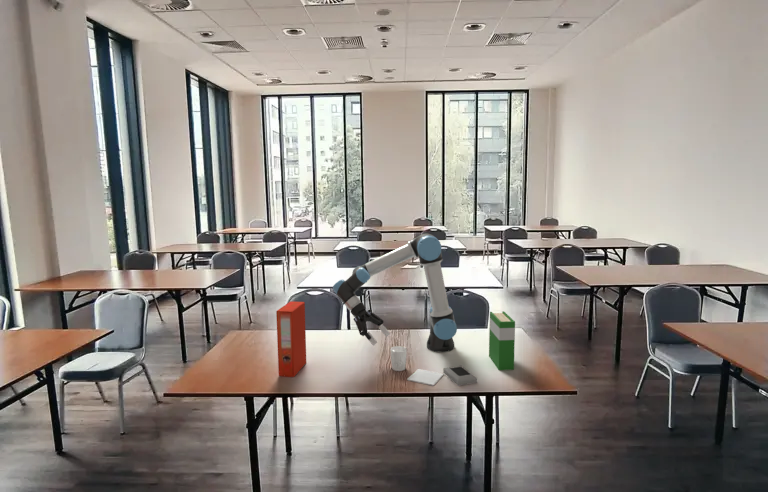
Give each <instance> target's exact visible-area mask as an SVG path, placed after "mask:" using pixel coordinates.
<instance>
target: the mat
mask: <svg viewBox="0 0 768 492" xmlns="http://www.w3.org/2000/svg"><path fill="white" fill-rule="evenodd" d="M444 375H445V374H444V373H443V372H442V373H441V372H437V371H432V370H426V369H421V368H417V369H416V370H415V372H414V373H412V374H411V375H410V376H409V377H407V379H406V381H409V382H413V383H419V384H423V385H427V386H428V385H429V386H433V387H434V386H435V385H436V384H437V382H438V381H440V380H441V379H442V377H443V376H444Z"/></svg>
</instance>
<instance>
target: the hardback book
mask: <svg viewBox="0 0 768 492" xmlns="http://www.w3.org/2000/svg"><path fill="white" fill-rule="evenodd" d="M515 336H516V321H515V320H514V319H513V318H511V316H510V315H509V314H508V313H506V312H505V311H501V312H498V313H497V312H495V313H494V312H492V311H489V333H488V337H489V338H488V341H489V343H488V357H489V358H490V360H491V362H492V363H493V365H495V367H496V369H497V370H498V371H514V369H515V340H516V339H515V338H516V337H515Z"/></svg>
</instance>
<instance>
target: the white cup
mask: <svg viewBox="0 0 768 492" xmlns="http://www.w3.org/2000/svg"><path fill="white" fill-rule="evenodd" d="M407 350H408V349H407V348H406V347H405V346H402V345H395V346H391V347H390V350H389V351H390V362H391V369H392V370H393V371H395V372H402V371H405V370H406V364H407Z"/></svg>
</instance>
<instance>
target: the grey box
mask: <svg viewBox="0 0 768 492" xmlns="http://www.w3.org/2000/svg"><path fill="white" fill-rule="evenodd" d="M442 371H443V372H442V373H443V374H444V375H445V376H447V378H449V379H450V381H452V382H453V383H454V384H456V385H457V386H458V387H459V386H465V385H470V384H476V383H478V377H476V376H475V375H474V374H473V373H472V372H470V371H469V370H468V369H466V368H465V367H464V366H462V365H457V366H450V367H444V368H443V370H442Z"/></svg>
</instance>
